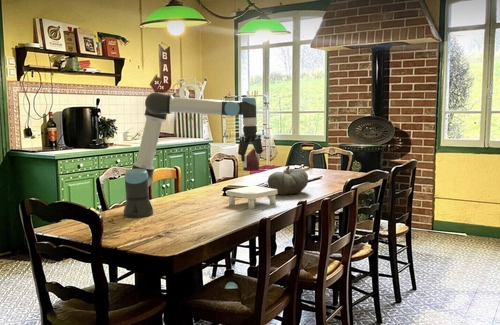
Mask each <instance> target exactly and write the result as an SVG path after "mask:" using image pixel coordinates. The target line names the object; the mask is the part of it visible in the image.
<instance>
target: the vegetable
mask: <svg viewBox="0 0 500 325" xmlns="http://www.w3.org/2000/svg"><path fill="white" fill-rule="evenodd" d="M256 154H257V153H256V151H255V149H254V148H252V149H251V150H250V152H248V153H247V155H246V162H247V167H246V168H245V167H242V168H243V171H245V172H253V171H254V172H257V171H259V170H260V165H259V162H258V159H257V157H256Z"/></svg>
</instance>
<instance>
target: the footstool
mask: <svg viewBox="0 0 500 325" xmlns="http://www.w3.org/2000/svg"><path fill="white" fill-rule="evenodd" d="M276 195H278V194H277V189H271V188H269V187H264V186H257V185H250V186H245V187H239V188H233V189H228V190H226V196H228V201H229V202H228V204H229V206H234V205H236V198H242V199H247V200H248V201H247V202H248V205H247V206H248V210H254V209H255V201H257V199H259V198H265V197H269V205H276V204H277V203H276Z"/></svg>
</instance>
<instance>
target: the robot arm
mask: <svg viewBox="0 0 500 325" xmlns="http://www.w3.org/2000/svg"><path fill="white" fill-rule="evenodd" d="M144 106H145V110H144V116H145V119H146V120H145V124H144V128H143V131H142V136H141V141H140V144H139V150H138V154H137V159H136V161H135V162H134V163H133V164H132V166H131V169H129V170H126V171H125V172H124V177H123V178H124V187H125V188H124V189H125V205H124V208H123V212H122V213H123V216H124V217H125V216H126V217H125V218H130V217H137V218H143V217H142V216H145V217H149V215H150V216H152V215H153V214H154V208H153V206H152V204H151V201H150V193H149V190H150V189H149V187H150V186H151V185H152V184H153V178H154V177H153V175H154V172H155V167H154V165H153V163H154V159H155V155H156V151H157V145H158V142H159V137H160V133H161V129H162V124H163V123H164V122H165V121H166V120H167V115H171V114H172V113H180V114H181V113H182V114H199V115H200V114H201V115H217V116H226V117H228V116H229V117H234V116H242V126H243V127H242V133H243V135H241V136H239V144H238V152H237V155H239V156H241V157H240V158H241V160H240V161H241V164H242V168H243V167H245V168H246V167H247V162H246V156H247V155H246V152H247V150H248V147H249V145H250V143H251V144H252V146H253V149H255V152H256V157H257V159H258V162H259V166H260V165H261V164H260V163H261V162H260V161H261V160H260V159H261V154H262V153H264V149H263V144H262V140H261V139H262V138H261V136H262V135H261V134H257V132H258V126H257V121H258V120H257V117H258V116H257V99H256V97H254V96H252V97H251V96H249V97H248V96H244V97H242V98H241V100H240V101H239V100H238V101H237V100H236V101H234V100H220V99H205V98H192V97H189V98H188V97H186V98H185V97H175V96H173V95H172V94H165V93H162V92H151V93H150V94H148V95H147V96H146V98H145V102H144Z"/></svg>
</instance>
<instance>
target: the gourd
mask: <svg viewBox="0 0 500 325" xmlns="http://www.w3.org/2000/svg"><path fill="white" fill-rule="evenodd" d="M286 167H287V168H286V170H284V171H283V172H282V171H275V172H273V173H271V174H270V175H268V178H267V185H268V188H271V189H277V194H276V195H281V196H285V195H294V194H299V193H301V192H302V191H303V190H304V189H305V188H306V187H307V185H308V184H309V183H308V182H309V175H308V173H307V172H306V171H305V170H304V169H302V168H296V169H295V168H291V167H290V165H287V166H286Z"/></svg>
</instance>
